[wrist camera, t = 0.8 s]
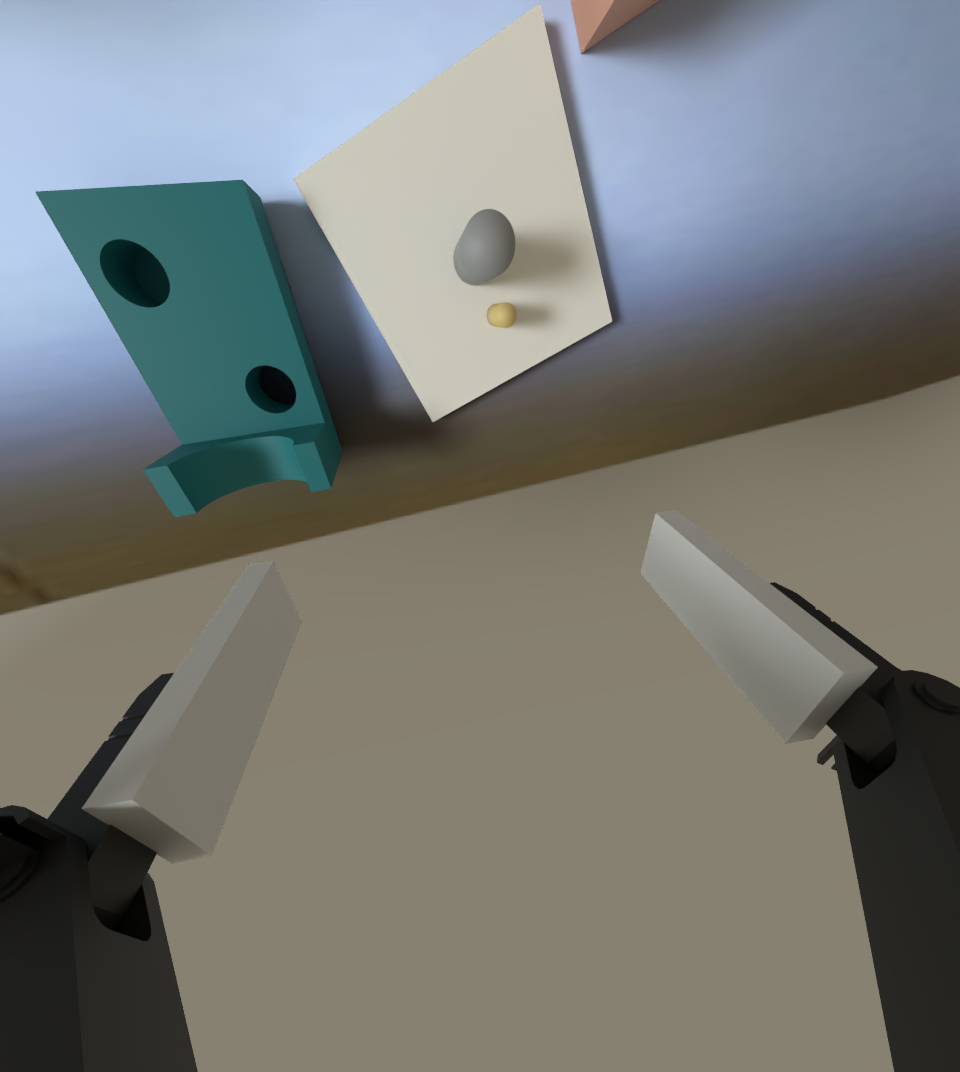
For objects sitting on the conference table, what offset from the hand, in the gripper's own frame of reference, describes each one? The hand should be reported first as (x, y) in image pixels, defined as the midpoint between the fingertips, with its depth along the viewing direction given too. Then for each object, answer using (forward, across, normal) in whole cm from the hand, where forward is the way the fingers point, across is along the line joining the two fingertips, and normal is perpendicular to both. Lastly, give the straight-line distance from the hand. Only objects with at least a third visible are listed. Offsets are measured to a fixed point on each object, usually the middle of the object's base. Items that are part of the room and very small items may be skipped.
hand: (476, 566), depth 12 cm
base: (+25, +4, +11) cm, 28 cm away
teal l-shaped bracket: (+26, -16, +6) cm, 31 cm away
